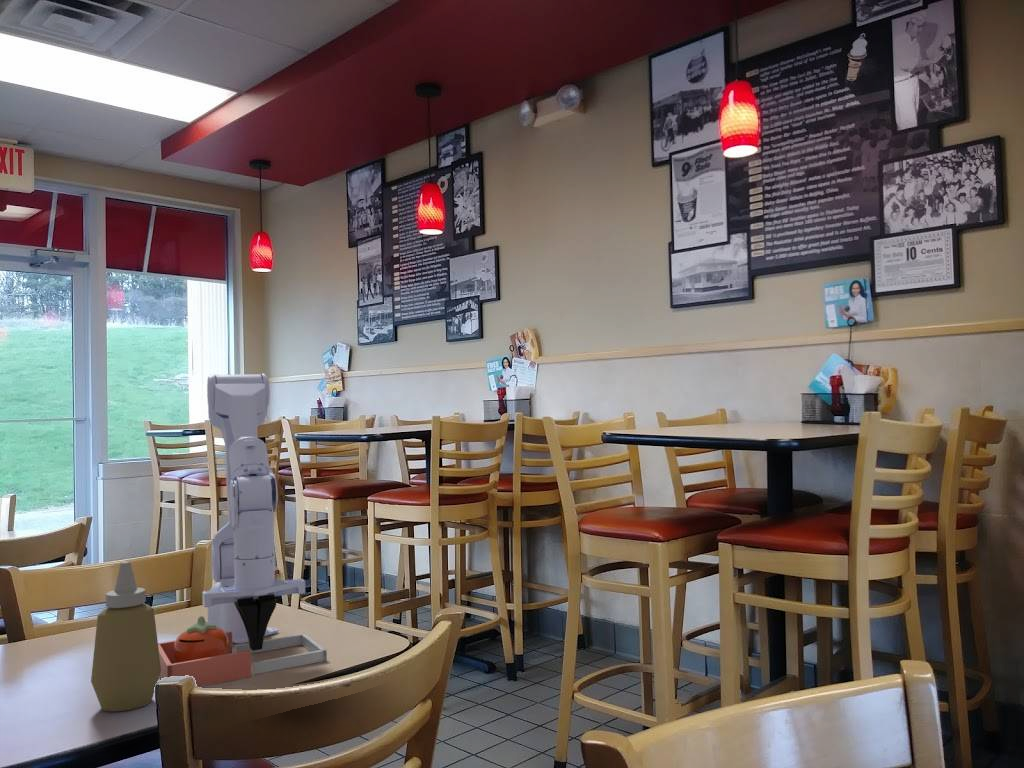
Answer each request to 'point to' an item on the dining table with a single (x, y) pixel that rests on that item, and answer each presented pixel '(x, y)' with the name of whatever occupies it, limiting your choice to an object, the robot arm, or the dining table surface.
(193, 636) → the tomato
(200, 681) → the bin
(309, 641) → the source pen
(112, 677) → the squeeze bottle
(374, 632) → the dining table surface
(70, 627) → the dining table surface
